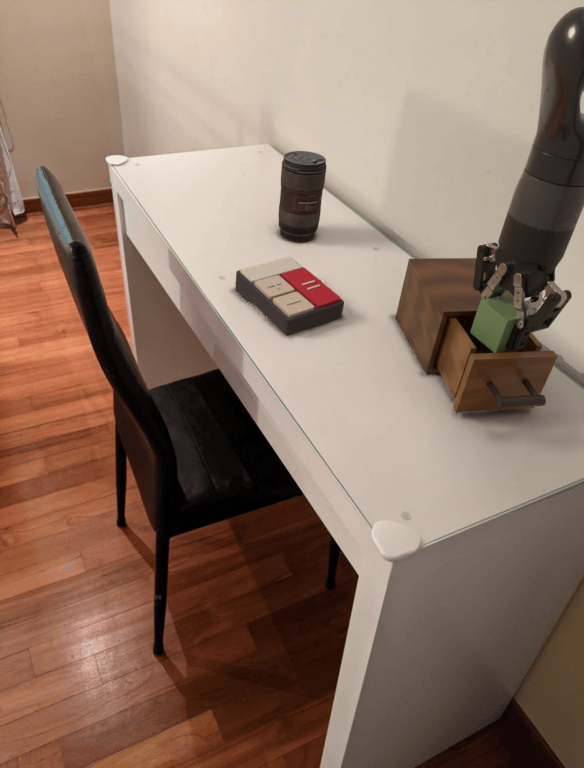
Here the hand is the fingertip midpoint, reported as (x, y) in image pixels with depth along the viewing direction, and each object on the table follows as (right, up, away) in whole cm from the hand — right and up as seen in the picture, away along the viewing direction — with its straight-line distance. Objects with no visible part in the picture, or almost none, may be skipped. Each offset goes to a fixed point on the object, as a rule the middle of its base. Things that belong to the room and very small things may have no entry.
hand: (497, 336), depth 80 cm
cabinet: (-3, 0, +15) cm, 15 cm away
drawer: (-1, -7, +5) cm, 9 cm away
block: (0, 0, 0) cm, 0 cm away
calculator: (-28, +7, +19) cm, 34 cm away
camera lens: (-26, +23, +39) cm, 52 cm away
